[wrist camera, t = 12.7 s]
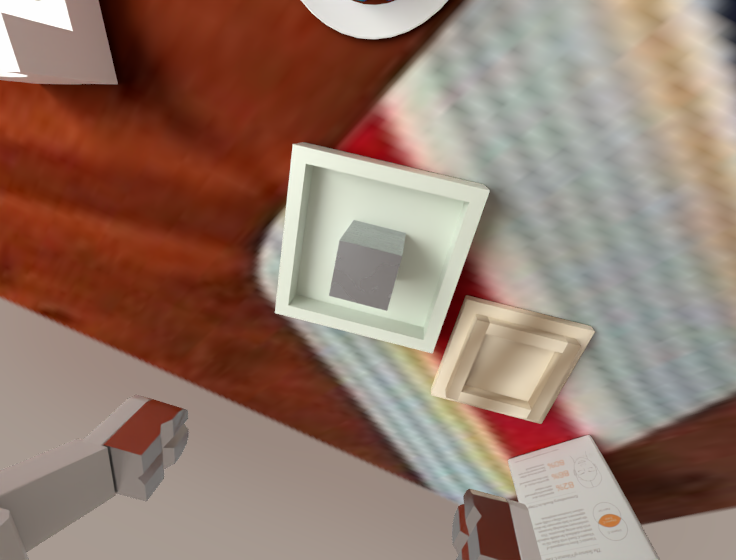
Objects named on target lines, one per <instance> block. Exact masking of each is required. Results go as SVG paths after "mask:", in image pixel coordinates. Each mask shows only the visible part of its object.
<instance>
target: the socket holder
mask: <svg viewBox="0 0 736 560" xmlns="http://www.w3.org/2000/svg"><path fill="white" fill-rule="evenodd" d="M594 333H595V331H594V330H593V328H592V327H591V326H588V325H584V324H580V323H576V322H572V321H568V320H564V319H560V318H556V317H552V316H548V315H544V314H540V313H536V312H532V311H528V310H524V309H520V308H516V307H512V306H508V305H504V304H500V303H496V302H492V301H488V300H484V299H480V298H476V297H472V296H468V295H466V296H465V299H464V301H463V304H462V307H461V309H460V312H459V315H458V317H457V320H456V323H455V326H454V328H453V331H452V334H451V336H450V339H449V342H448V344H447V347H446V350H445V353H444V355H443V358H442V361H441V363H440V366H439V369H438V371H437V374H436V377H435V379H434V382H433V385H432V388H431V395H433V396H437V397H441V398H444V399H448V400H452V401H456V402H460V403H463V404H467V405H471V406H475V407H479V408H483V409H486V410H490V411H494V412H498V413H502V414H505V415H509V416H513V417H517V418H521V419H524V420H528V421H532V422H536V423H540V424H542V422H543V420H544V419H545V417H546V415H547V413H548V412H549V410H550V408H551V407H552V405H553V403H554V401H555V400H556V398H557V396H558V394H559V393H560V391H561V389H562V388H563V386H564V384H565V382H566V381H567V379H568V377H569V376H570V374H571V372H572V370H573V369H574V367H575V365H576V364H577V362H578V360H579V358H580V357H581V355H582V353H583V351H584V350H585V348H586V346H587V345H588V343H589V341H590V339H591V338H592V336H593V334H594Z"/></svg>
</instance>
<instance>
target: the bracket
mask: <svg viewBox="0 0 736 560" xmlns="http://www.w3.org/2000/svg"><path fill="white" fill-rule="evenodd" d="M0 80H7V81H16V82H26V83H36V84H78V85H81V84H118V82H117V78H116V74H115V69H114V65H113V61H112V56H111V52H110V48H109V43H108V39H107V35H106V31H105V26H104V22H103V18H102V13H101V9H100V5H99V0H0Z"/></svg>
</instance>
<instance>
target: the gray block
mask: <svg viewBox="0 0 736 560" xmlns="http://www.w3.org/2000/svg"><path fill="white" fill-rule="evenodd" d="M405 235H406V233H404V232H400V231H396V230H392V229H388V228H384V227H380V226H376V225H372V224H368V223H364V222H360V221H356V220H353V222H352V223H351V225H350V226H349V227H348V229H347V230H346V232H345V233H344V234H343V236H342V237H341V239H340V240H339V245H338V250H337V256H336V261H335V266H334V272H333V277H332V282H331V288H330V293H329V296H332V297H336V298H339V299H343V300H347V301H351V302H355V303H359V304H362V305H366V306H370V307H374V308H378V309H382V310H385V311H387V310H388V306H389V302H390V299H391V295H392V292H393V288H394V284H395V281H396V277H397V273H398V270H399V266H400V263H401V259H402V255H403V248H404V242H405Z"/></svg>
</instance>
